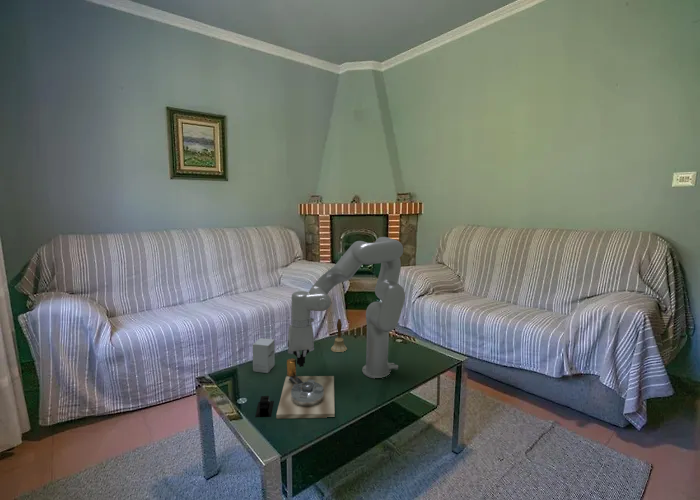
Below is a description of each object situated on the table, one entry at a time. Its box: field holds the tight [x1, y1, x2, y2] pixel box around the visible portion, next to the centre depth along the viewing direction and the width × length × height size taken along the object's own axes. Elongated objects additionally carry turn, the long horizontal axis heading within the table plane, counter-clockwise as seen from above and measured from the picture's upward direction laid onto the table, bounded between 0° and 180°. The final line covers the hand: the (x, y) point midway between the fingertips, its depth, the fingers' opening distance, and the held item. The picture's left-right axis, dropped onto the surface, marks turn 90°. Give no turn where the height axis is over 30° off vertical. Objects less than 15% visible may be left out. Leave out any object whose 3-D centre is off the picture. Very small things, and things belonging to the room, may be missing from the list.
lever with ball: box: [286, 358, 324, 407], centre depth 131 cm, size 22×12×9 cm, turn 35°
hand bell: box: [330, 318, 348, 353], centre depth 173 cm, size 8×8×16 cm
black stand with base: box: [254, 395, 274, 418], centre depth 123 cm, size 12×7×5 cm, turn 7°
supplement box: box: [252, 337, 276, 374], centre depth 152 cm, size 7×7×13 cm
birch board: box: [275, 375, 336, 419], centre depth 131 cm, size 20×26×2 cm
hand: (300, 365), depth 140 cm, fingers closed
